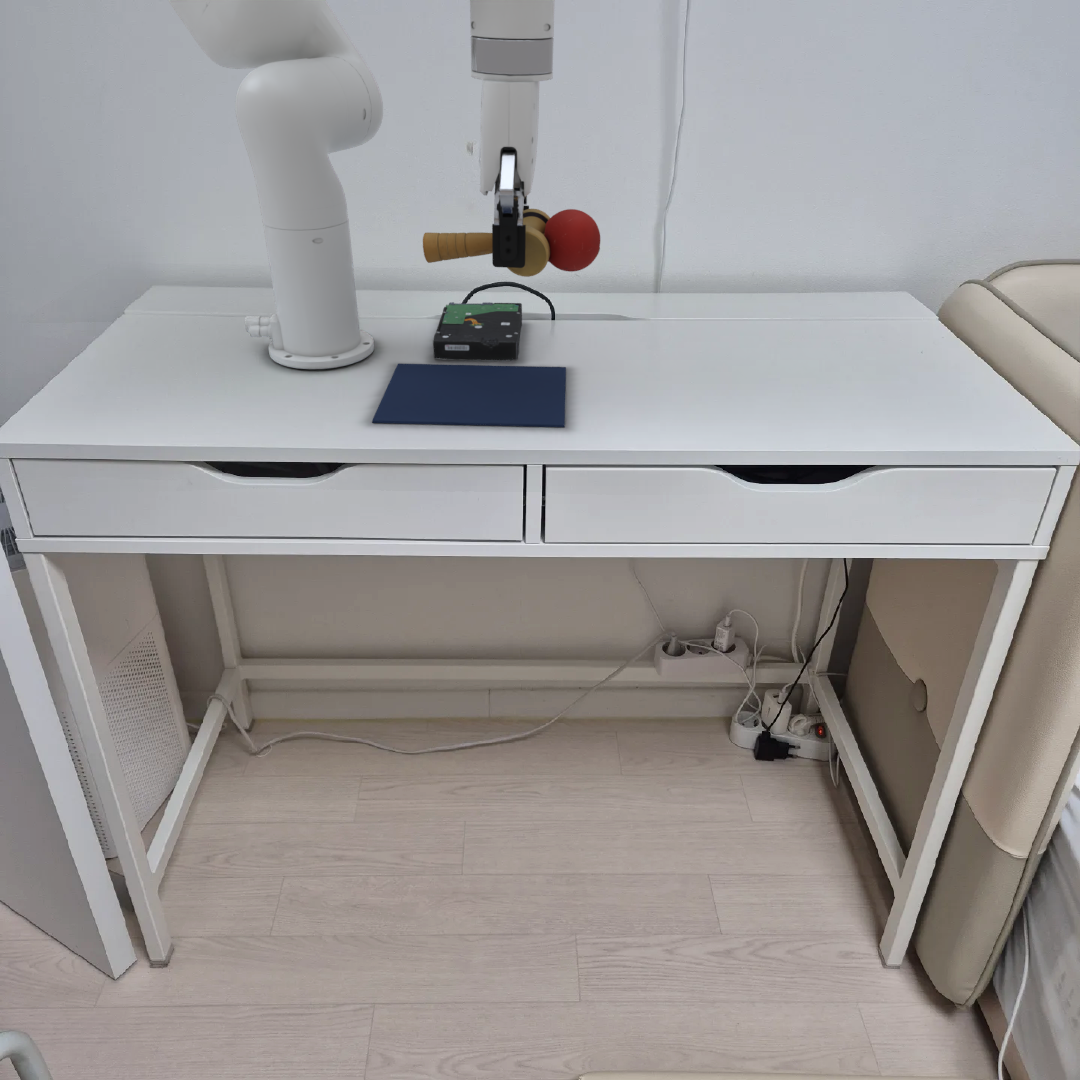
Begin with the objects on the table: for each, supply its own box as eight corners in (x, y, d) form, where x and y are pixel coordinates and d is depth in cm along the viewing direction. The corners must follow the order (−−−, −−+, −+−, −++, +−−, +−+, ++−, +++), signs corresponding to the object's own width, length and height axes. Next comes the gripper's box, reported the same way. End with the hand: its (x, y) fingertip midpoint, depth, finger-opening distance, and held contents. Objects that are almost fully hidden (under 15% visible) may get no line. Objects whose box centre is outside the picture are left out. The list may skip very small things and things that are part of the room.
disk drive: (519, 364, 108) (522, 321, 120) (519, 341, 106) (522, 300, 119) (433, 363, 108) (445, 320, 120) (432, 340, 106) (444, 300, 119)
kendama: (421, 287, 90) (599, 272, 87) (411, 221, 88) (594, 203, 85) (439, 279, 97) (604, 265, 94) (431, 218, 95) (600, 201, 92)
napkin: (372, 423, 93) (372, 420, 93) (398, 365, 107) (397, 363, 106) (564, 427, 93) (564, 424, 92) (566, 369, 106) (566, 366, 106)
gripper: (479, 50, 89) (481, 232, 99) (461, 68, 75) (466, 279, 84) (554, 53, 89) (549, 234, 99) (551, 70, 75) (545, 282, 84)
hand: (511, 254), depth 92 cm, fingers closed on kendama, 7 cm apart
